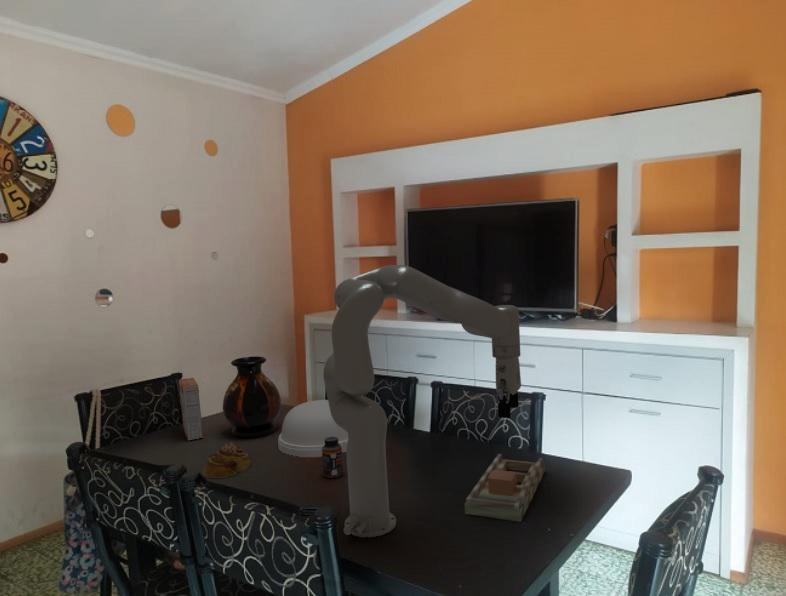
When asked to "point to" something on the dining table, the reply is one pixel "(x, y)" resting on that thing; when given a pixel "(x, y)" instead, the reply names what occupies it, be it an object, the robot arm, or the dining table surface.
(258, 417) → the dark brown vase
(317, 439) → the dome cover
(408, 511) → the dining table surface
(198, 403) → the cracker box
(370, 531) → the robot arm
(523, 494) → the board
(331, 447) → the supplement bottle
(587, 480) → the dining table surface
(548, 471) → the dining table surface
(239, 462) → the pastry
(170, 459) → the dining table surface
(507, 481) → the terracotta block
